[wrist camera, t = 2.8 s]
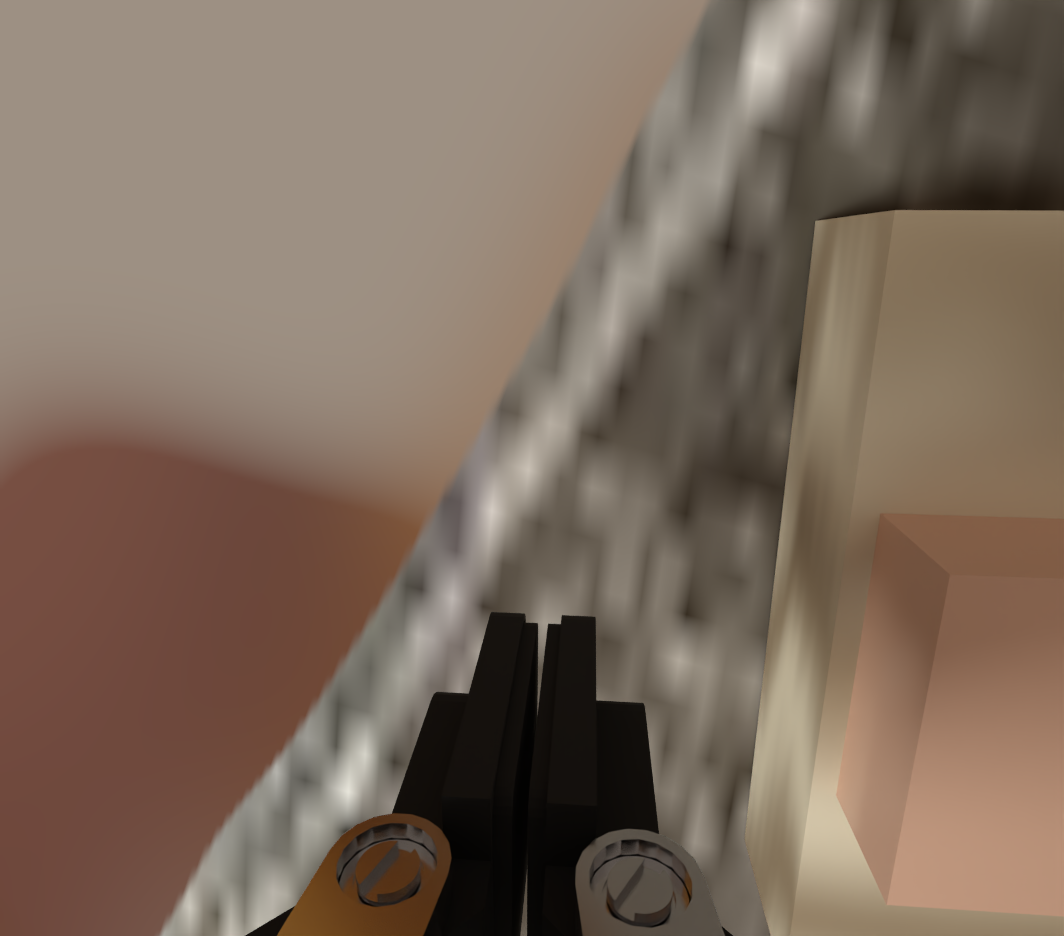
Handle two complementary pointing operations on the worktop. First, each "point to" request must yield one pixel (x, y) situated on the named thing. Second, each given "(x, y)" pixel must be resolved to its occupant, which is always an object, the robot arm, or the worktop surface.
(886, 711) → the tile
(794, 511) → the beige rectangular block
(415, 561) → the worktop surface
